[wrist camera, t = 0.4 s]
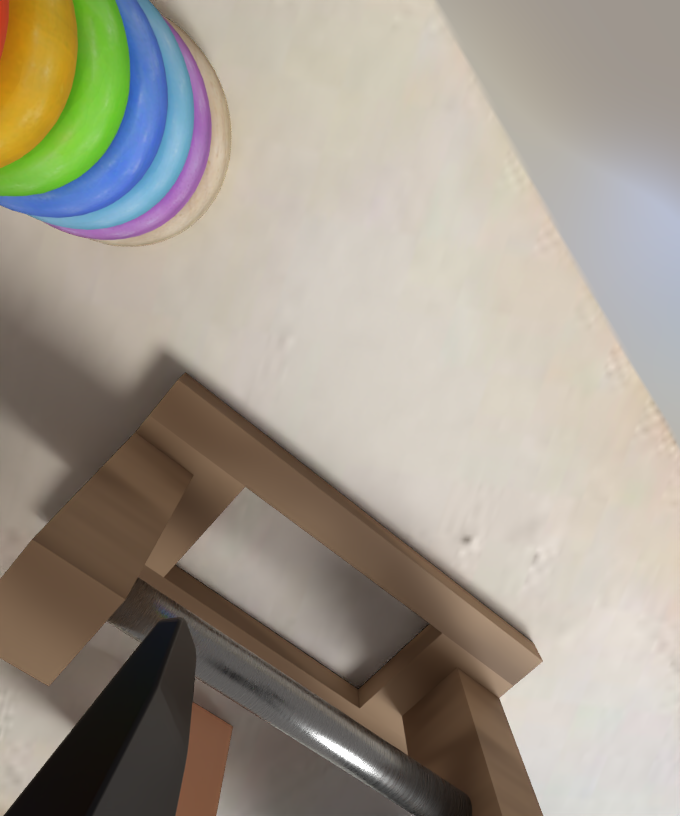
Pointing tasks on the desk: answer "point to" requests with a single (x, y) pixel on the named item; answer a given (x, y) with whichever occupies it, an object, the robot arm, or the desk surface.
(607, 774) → the desk surface
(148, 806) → the robot arm
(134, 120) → the stacking toy
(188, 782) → the clip
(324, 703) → the stand
